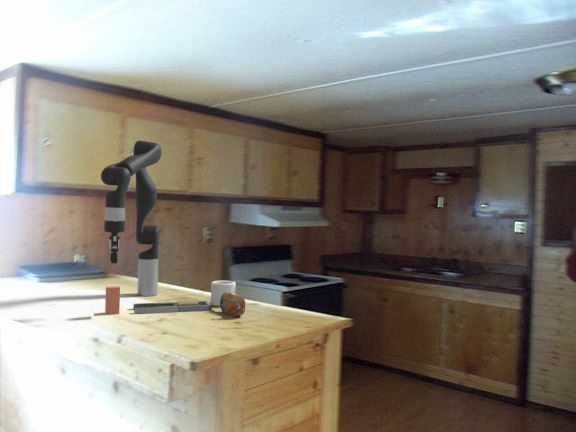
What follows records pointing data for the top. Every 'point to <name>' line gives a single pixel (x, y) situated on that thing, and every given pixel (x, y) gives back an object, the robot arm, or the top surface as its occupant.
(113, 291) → the pink rectangular block
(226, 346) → the top surface
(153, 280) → the robot arm
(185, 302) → the tan cubic piece
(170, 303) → the slot bed
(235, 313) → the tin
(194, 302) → the khaki cube
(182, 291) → the top surface
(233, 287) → the mug
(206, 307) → the tray
